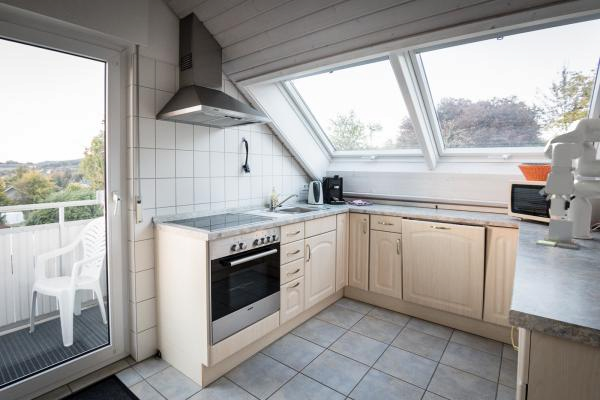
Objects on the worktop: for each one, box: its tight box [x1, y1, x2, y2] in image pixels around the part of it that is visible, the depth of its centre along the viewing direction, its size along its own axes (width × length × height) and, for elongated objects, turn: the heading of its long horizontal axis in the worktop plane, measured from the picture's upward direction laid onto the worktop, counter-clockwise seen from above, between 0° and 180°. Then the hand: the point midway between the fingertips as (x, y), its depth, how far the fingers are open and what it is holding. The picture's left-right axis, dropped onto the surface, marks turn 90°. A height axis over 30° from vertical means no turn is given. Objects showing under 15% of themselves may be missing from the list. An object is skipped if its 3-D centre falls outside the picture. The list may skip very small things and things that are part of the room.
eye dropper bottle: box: [549, 195, 567, 217], centre depth 151 cm, size 4×6×12 cm
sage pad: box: [536, 239, 557, 247], centre depth 161 cm, size 7×7×1 cm
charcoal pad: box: [556, 243, 578, 250], centre depth 155 cm, size 7×7×1 cm
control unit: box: [543, 217, 577, 245], centre depth 165 cm, size 7×12×12 cm, turn 45°
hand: (557, 208), depth 151 cm, fingers closed on eye dropper bottle, 5 cm apart
